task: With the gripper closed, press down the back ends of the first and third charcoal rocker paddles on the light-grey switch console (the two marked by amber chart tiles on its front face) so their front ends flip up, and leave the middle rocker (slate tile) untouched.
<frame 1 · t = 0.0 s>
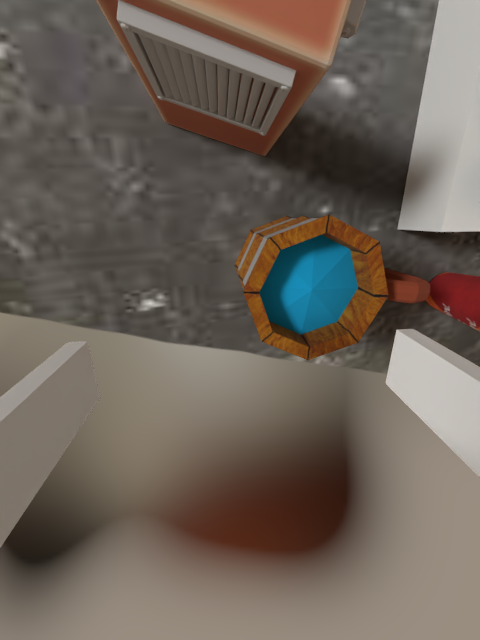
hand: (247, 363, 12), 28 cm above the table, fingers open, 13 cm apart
console: (456, 118, 34), on the table
paper cup: (441, 289, 42), on the table
mug: (302, 267, 39), on the table
control panel: (221, 116, 32), on the table
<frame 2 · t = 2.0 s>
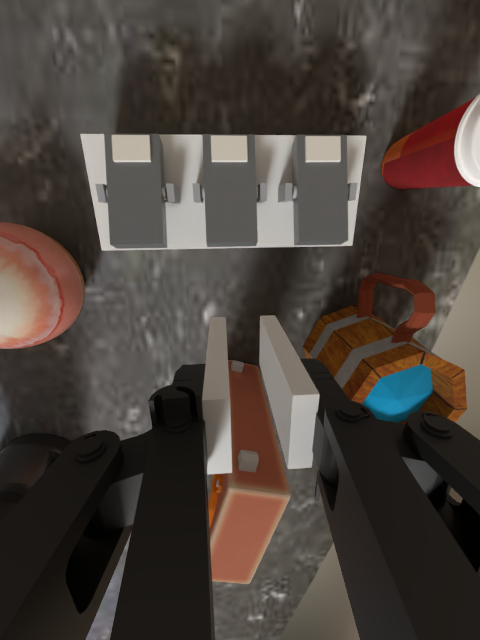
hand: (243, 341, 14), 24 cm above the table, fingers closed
vase: (47, 276, 36), on the table
console: (227, 200, 34), on the table
rocker B: (230, 191, 24), point 11 cm above the table, hinge at -18.0°
rocker C: (320, 191, 24), point 11 cm above the table, hinge at -18.0°
paper cup: (401, 164, 34), on the table
rocker A: (136, 192, 23), point 11 cm above the table, hinge at -18.0°
mug: (348, 327, 42), on the table
control panel: (232, 394, 44), on the table
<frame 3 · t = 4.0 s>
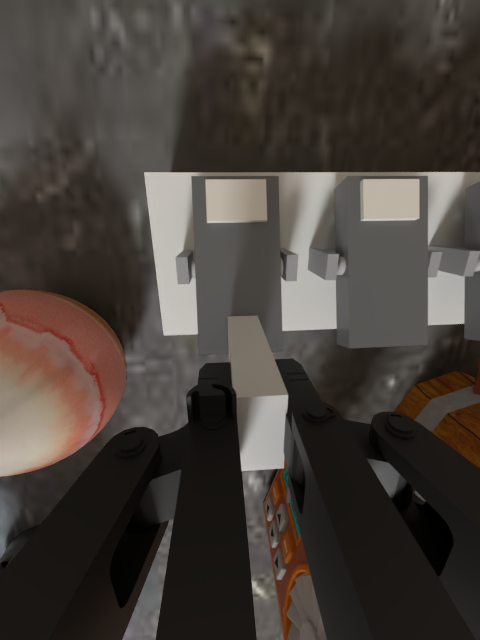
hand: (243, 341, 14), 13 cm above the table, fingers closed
vase: (72, 343, 27), on the table
console: (315, 246, 25), on the table
rocker B: (381, 264, 15), point 11 cm above the table, hinge at -18.0°
rocker A: (237, 267, 15), point 11 cm above the table, hinge at -17.4°, touching gripper
mug: (446, 395, 33), on the table
control panel: (295, 472, 36), on the table
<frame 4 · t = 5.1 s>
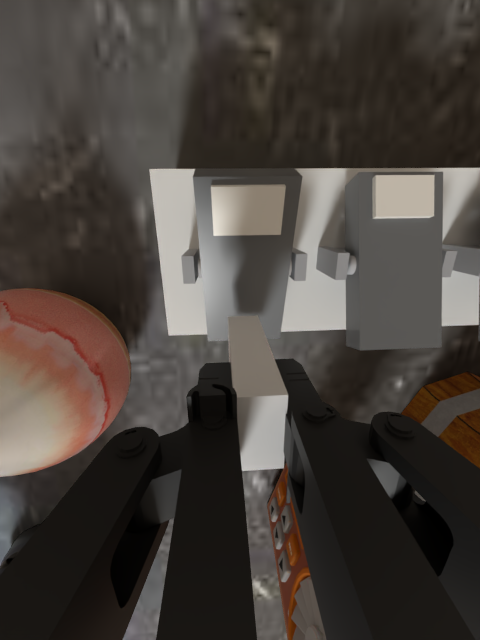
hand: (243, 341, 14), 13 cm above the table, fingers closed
vase: (76, 342, 27), on the table
console: (323, 244, 25), on the table
rocker B: (393, 263, 15), point 11 cm above the table, hinge at -18.0°
rocker A: (244, 268, 14), point 11 cm above the table, hinge at 18.5°
mug: (455, 397, 32), on the table
control panel: (300, 474, 35), on the table
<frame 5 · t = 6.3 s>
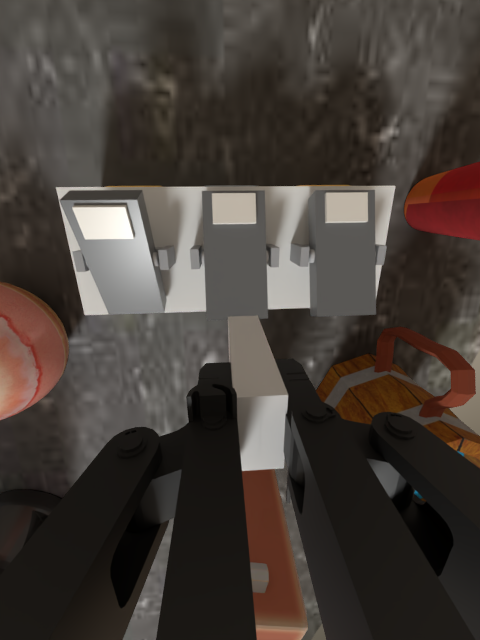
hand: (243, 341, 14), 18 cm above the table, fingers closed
vase: (27, 326, 32), on the table
console: (230, 244, 30), on the table
rocker B: (235, 257, 20), point 11 cm above the table, hinge at -18.0°
rocker C: (342, 255, 20), point 11 cm above the table, hinge at -18.0°
paper cup: (427, 203, 30), on the table
rocker A: (123, 261, 19), point 11 cm above the table, hinge at 23.8°
mug: (362, 376, 38), on the table
control panel: (234, 445, 40), on the table
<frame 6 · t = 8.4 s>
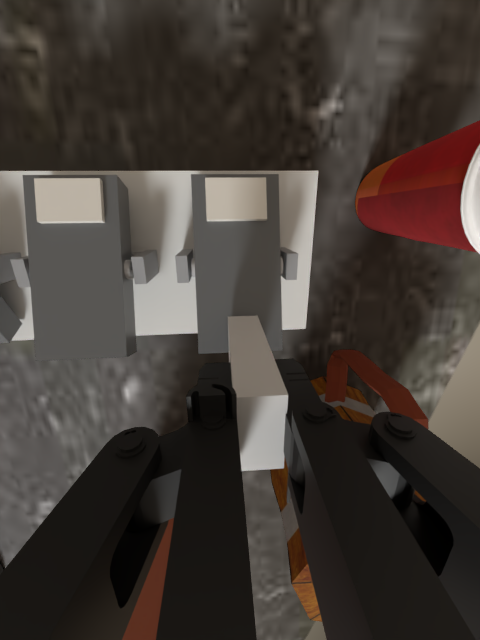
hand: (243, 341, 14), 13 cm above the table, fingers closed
console: (140, 248, 24), on the table
rocker B: (82, 270, 14), point 11 cm above the table, hinge at -18.0°
rocker C: (237, 266, 15), point 11 cm above the table, hinge at -17.1°, touching gripper
paper cup: (383, 197, 24), on the table
mug: (318, 402, 32), on the table
control panel: (172, 481, 35), on the table
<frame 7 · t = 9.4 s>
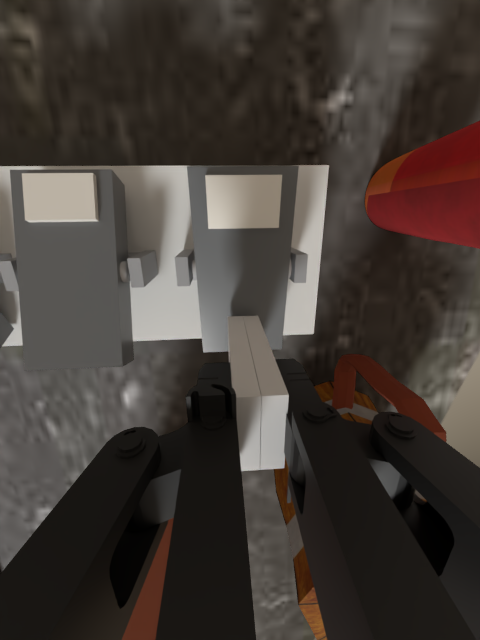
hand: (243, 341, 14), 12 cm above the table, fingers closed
console: (139, 248, 23), on the table
rocker B: (75, 272, 13), point 11 cm above the table, hinge at -18.0°
rocker C: (242, 270, 13), point 11 cm above the table, hinge at 9.6°
paper cup: (395, 195, 23), on the table
mug: (324, 407, 31), on the table
control panel: (173, 488, 34), on the table
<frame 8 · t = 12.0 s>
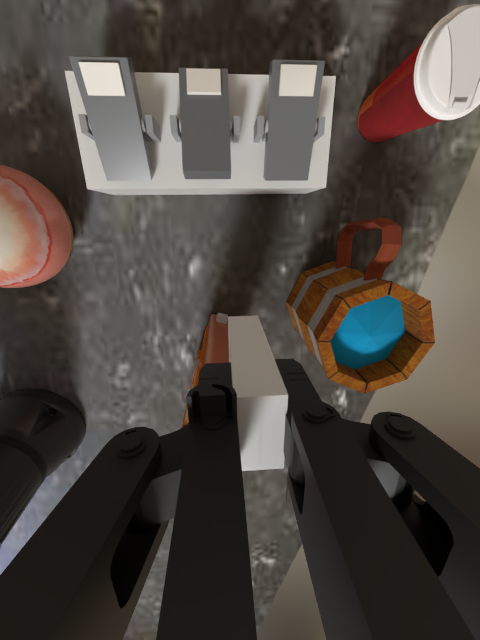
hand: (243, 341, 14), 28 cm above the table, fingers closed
vase: (38, 227, 37), on the table
console: (209, 152, 35), on the table
rocker B: (205, 124, 25), point 11 cm above the table, hinge at -18.0°
rocker C: (290, 126, 26), point 11 cm above the table, hinge at 16.8°
paper cup: (377, 117, 36), on the table
rocker A: (117, 125, 25), point 11 cm above the table, hinge at 24.5°
mug: (329, 283, 43), on the table
control panel: (218, 350, 46), on the table
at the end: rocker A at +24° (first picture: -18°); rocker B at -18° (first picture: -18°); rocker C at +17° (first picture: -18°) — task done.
